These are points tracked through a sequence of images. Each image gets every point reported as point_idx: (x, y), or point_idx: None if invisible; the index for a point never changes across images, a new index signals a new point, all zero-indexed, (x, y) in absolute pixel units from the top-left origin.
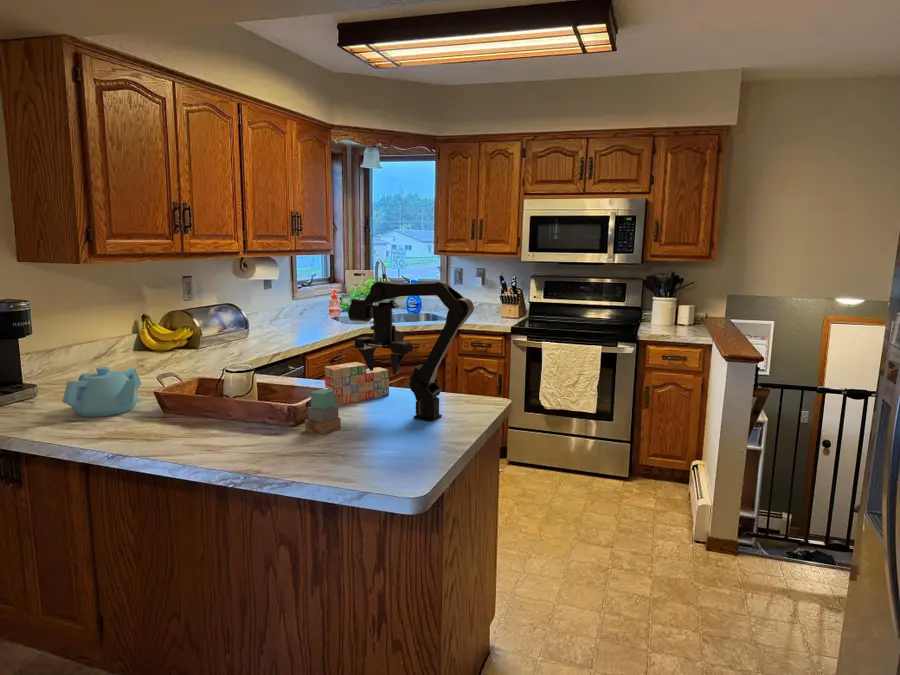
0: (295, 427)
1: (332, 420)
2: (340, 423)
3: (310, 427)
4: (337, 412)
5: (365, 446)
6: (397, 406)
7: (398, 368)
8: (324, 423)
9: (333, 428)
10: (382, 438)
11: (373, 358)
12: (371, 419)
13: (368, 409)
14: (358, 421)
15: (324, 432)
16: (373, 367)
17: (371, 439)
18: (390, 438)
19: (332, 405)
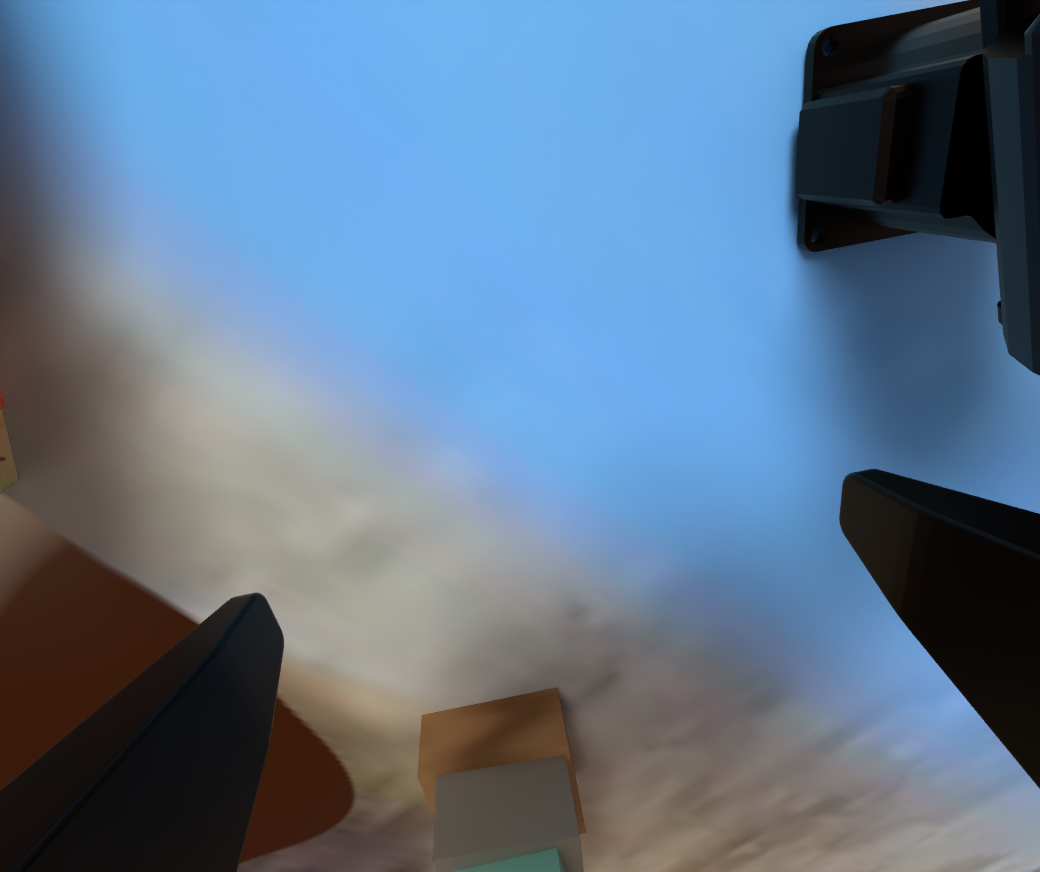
0: (374, 808)
1: (573, 787)
2: (561, 713)
3: None
4: (572, 797)
5: (844, 722)
6: (409, 55)
7: (1011, 510)
8: (584, 825)
9: (567, 738)
10: (850, 629)
11: (66, 841)
12: (557, 489)
13: (314, 349)
14: (527, 567)
15: (575, 777)
16: (233, 624)
17: (810, 668)
18: (887, 604)
19: (561, 867)
